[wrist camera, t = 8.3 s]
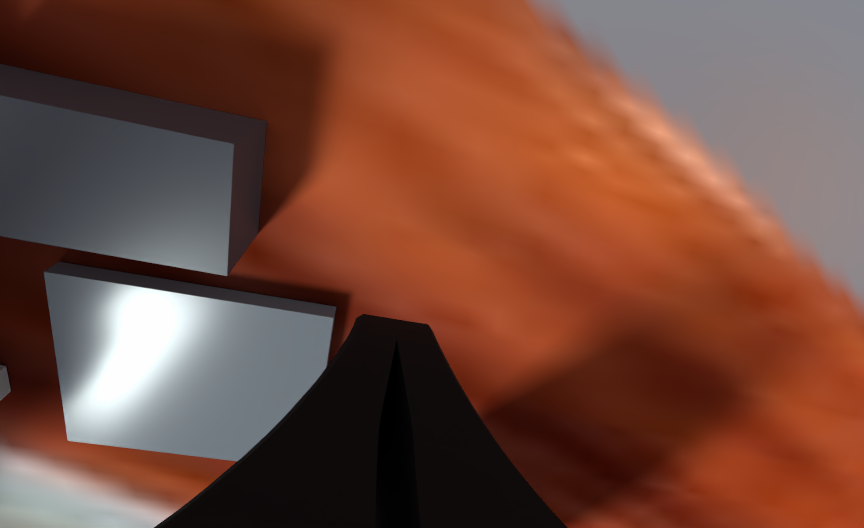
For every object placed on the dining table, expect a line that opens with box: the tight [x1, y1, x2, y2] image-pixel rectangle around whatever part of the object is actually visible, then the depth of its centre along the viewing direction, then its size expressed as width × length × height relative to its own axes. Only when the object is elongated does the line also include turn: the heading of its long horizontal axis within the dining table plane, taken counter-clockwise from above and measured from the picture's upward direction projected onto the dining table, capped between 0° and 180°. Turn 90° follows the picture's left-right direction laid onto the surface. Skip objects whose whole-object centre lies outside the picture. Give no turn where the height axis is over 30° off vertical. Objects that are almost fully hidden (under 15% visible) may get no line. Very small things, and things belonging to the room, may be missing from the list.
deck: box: [44, 262, 337, 461], centre depth 20 cm, size 8×10×1 cm
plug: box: [0, 64, 267, 276], centre depth 15 cm, size 4×8×4 cm, turn 77°
